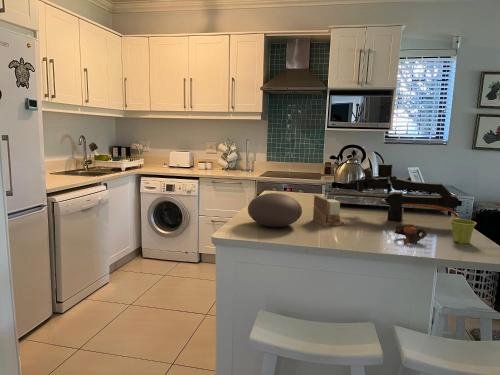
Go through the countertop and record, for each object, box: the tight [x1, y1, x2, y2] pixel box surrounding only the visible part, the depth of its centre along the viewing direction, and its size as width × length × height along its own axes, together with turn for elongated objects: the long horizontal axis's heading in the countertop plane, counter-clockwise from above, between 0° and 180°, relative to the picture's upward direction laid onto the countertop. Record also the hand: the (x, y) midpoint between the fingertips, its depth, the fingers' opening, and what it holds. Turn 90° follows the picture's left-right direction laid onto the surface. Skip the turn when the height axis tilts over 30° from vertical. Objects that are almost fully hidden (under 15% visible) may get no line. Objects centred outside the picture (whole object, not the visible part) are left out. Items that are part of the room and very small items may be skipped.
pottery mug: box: [394, 223, 427, 245], centre depth 154 cm, size 12×10×8 cm
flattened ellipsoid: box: [247, 192, 303, 228], centre depth 173 cm, size 25×25×15 cm
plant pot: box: [450, 218, 477, 245], centre depth 154 cm, size 9×9×9 cm
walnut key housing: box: [312, 194, 345, 227], centre depth 181 cm, size 11×12×12 cm
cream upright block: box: [326, 198, 341, 219], centre depth 181 cm, size 5×7×9 cm
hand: (347, 183), depth 199 cm, fingers open, 9 cm apart
